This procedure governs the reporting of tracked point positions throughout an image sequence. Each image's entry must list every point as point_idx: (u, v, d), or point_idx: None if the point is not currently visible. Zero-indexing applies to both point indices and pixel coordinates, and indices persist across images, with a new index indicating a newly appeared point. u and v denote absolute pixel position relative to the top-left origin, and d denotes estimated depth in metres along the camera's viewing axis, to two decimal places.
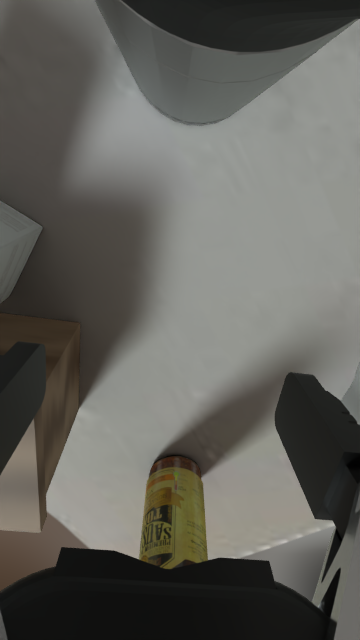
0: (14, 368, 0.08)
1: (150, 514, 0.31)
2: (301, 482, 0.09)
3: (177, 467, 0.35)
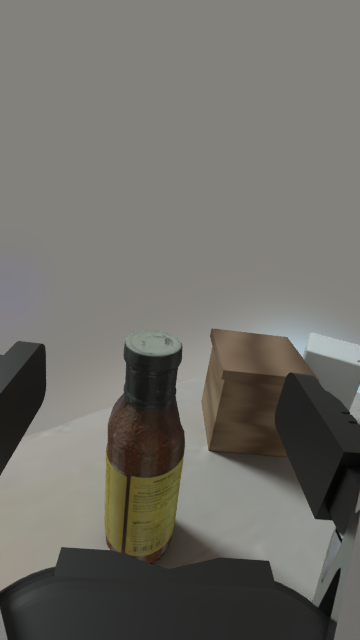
0: (14, 368, 0.08)
1: None
2: (301, 481, 0.09)
3: None
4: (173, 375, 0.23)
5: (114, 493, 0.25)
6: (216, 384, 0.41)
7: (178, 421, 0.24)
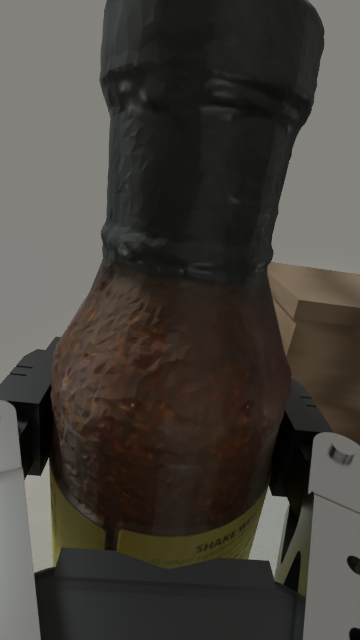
0: None
1: None
2: None
3: None
4: (285, 154, 0.06)
5: None
6: None
7: (280, 345, 0.07)
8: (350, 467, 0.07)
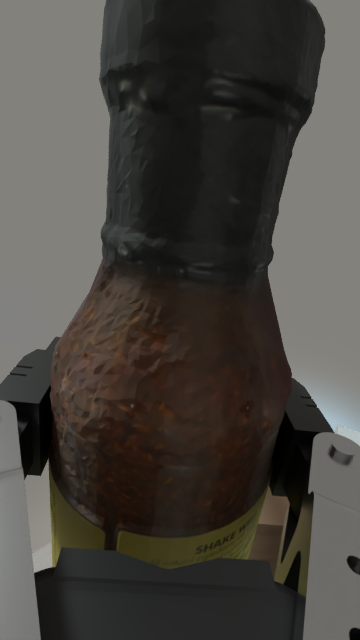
0: None
1: None
2: None
3: None
4: (286, 154, 0.06)
5: None
6: None
7: (280, 345, 0.07)
8: (350, 467, 0.07)
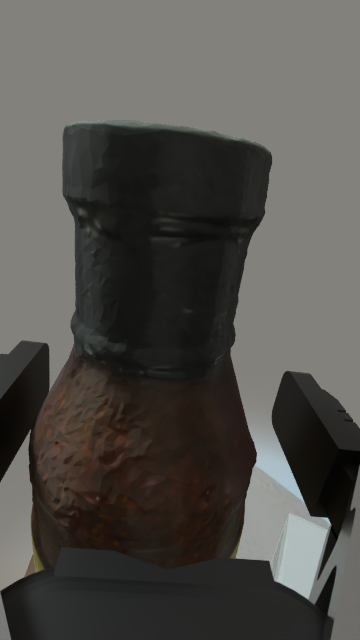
0: (19, 367, 0.09)
1: None
2: (297, 480, 0.09)
3: None
4: (239, 259, 0.06)
5: None
6: None
7: (243, 423, 0.08)
8: None
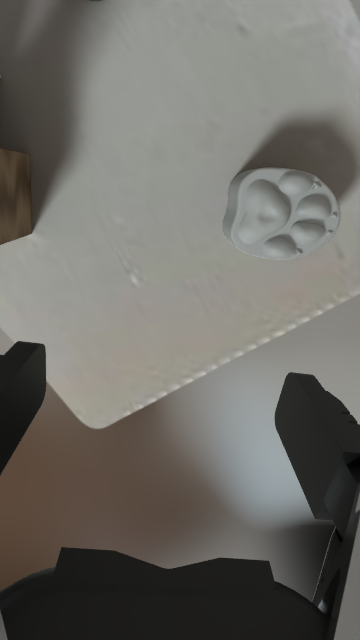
0: (14, 368, 0.08)
1: None
2: (301, 482, 0.09)
3: None
4: None
5: None
6: None
7: None
8: None
